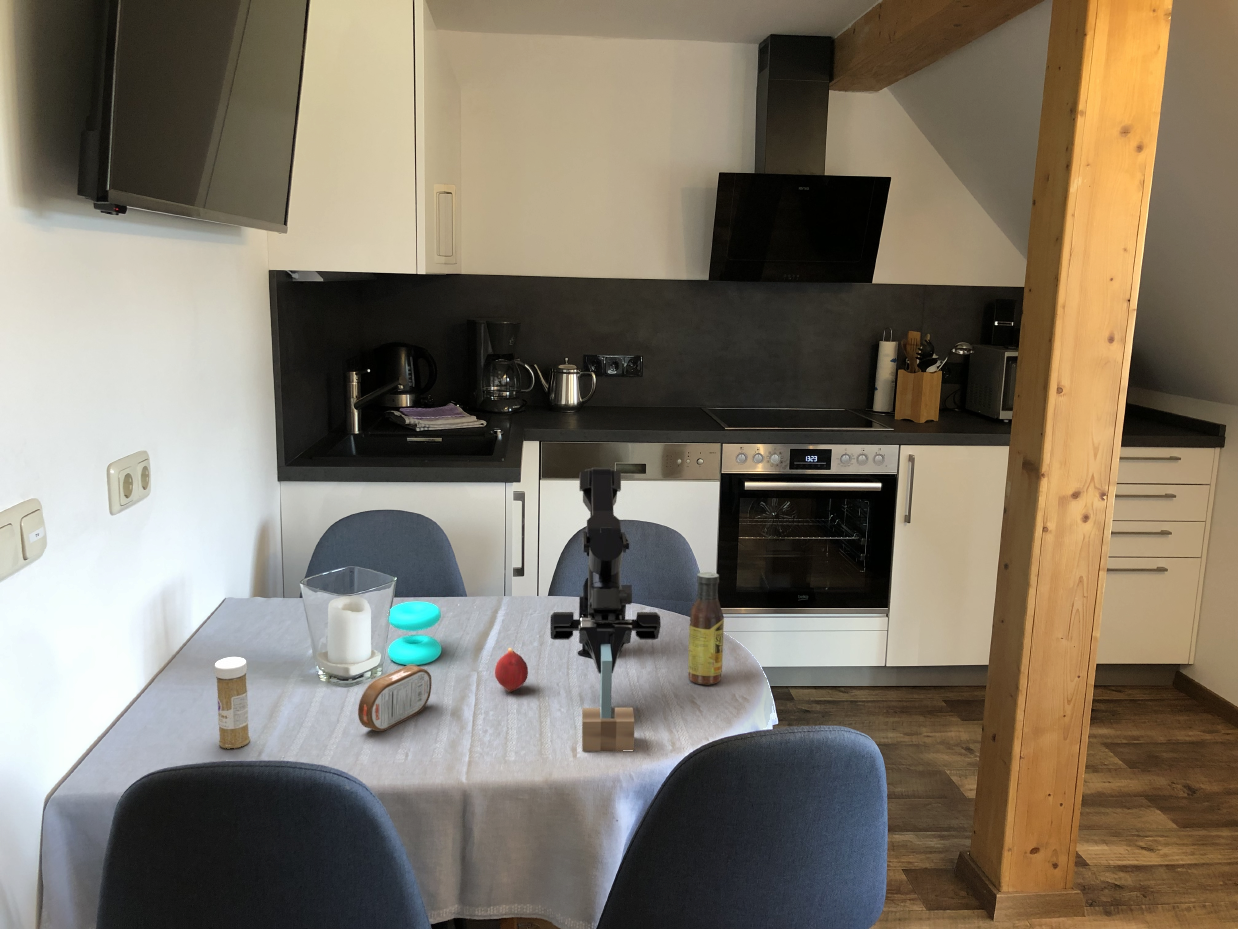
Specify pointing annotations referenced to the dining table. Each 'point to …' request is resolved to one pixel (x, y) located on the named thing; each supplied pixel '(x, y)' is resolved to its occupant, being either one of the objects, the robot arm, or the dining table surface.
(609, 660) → the pale blue slab box
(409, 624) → the donuts
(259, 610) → the dining table surface
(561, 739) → the dining table surface
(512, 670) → the onion
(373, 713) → the tin
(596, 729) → the clip block
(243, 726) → the sprinkles bottle
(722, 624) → the sauce bottle
